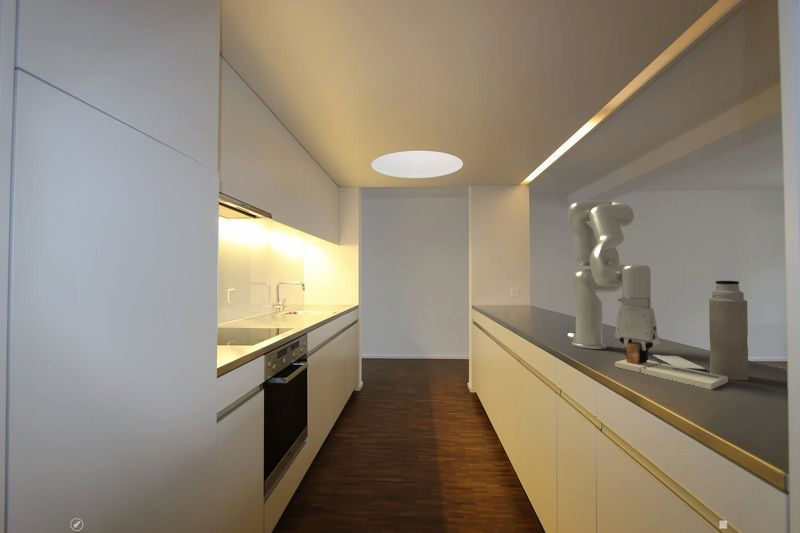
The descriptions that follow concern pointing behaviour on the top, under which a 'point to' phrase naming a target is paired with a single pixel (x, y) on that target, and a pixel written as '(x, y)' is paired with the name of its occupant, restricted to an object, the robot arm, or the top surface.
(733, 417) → the top surface
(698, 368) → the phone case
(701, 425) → the top surface
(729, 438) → the top surface
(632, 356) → the stub
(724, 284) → the thermos bottle
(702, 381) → the flat white tray
